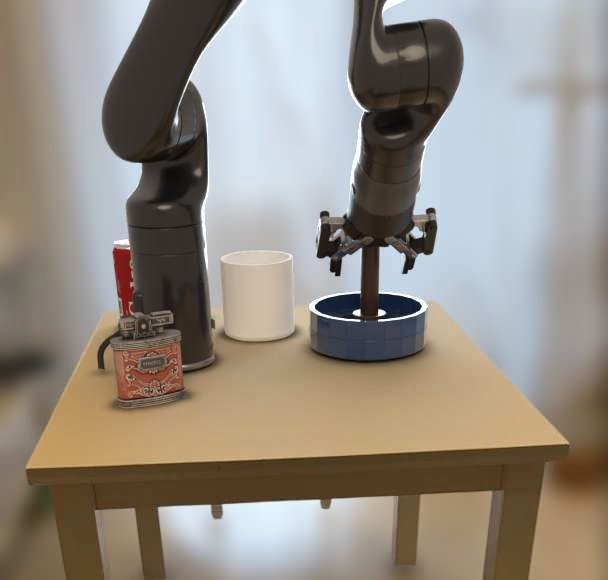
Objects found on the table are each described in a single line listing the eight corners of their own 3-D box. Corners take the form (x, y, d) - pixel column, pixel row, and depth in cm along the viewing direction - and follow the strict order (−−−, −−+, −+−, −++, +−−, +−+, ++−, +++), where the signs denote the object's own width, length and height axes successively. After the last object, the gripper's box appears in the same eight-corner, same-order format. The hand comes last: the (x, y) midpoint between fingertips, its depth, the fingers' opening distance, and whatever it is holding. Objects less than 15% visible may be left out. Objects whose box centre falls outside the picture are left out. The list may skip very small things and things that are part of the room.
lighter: (123, 410, 100) (112, 322, 95) (114, 401, 102) (103, 314, 97) (190, 398, 103) (183, 311, 98) (180, 389, 105) (172, 305, 101)
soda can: (160, 321, 132) (152, 237, 127) (152, 331, 128) (143, 244, 122) (126, 321, 133) (117, 237, 127) (117, 330, 128) (106, 244, 123)
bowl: (313, 366, 112) (313, 323, 110) (306, 332, 126) (306, 293, 123) (434, 362, 113) (436, 319, 110) (415, 329, 126) (416, 290, 124)
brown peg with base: (369, 349, 116) (371, 238, 109) (345, 342, 119) (345, 233, 112) (391, 342, 119) (395, 233, 112) (368, 335, 122) (370, 229, 115)
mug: (308, 333, 125) (307, 258, 120) (246, 346, 120) (242, 268, 116) (263, 315, 134) (260, 244, 130) (204, 325, 130) (198, 253, 125)
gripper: (445, 154, 99) (423, 242, 114) (317, 157, 98) (312, 245, 114) (452, 212, 97) (428, 293, 112) (321, 216, 96) (316, 297, 112)
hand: (370, 269), depth 113 cm, fingers open, 8 cm apart
